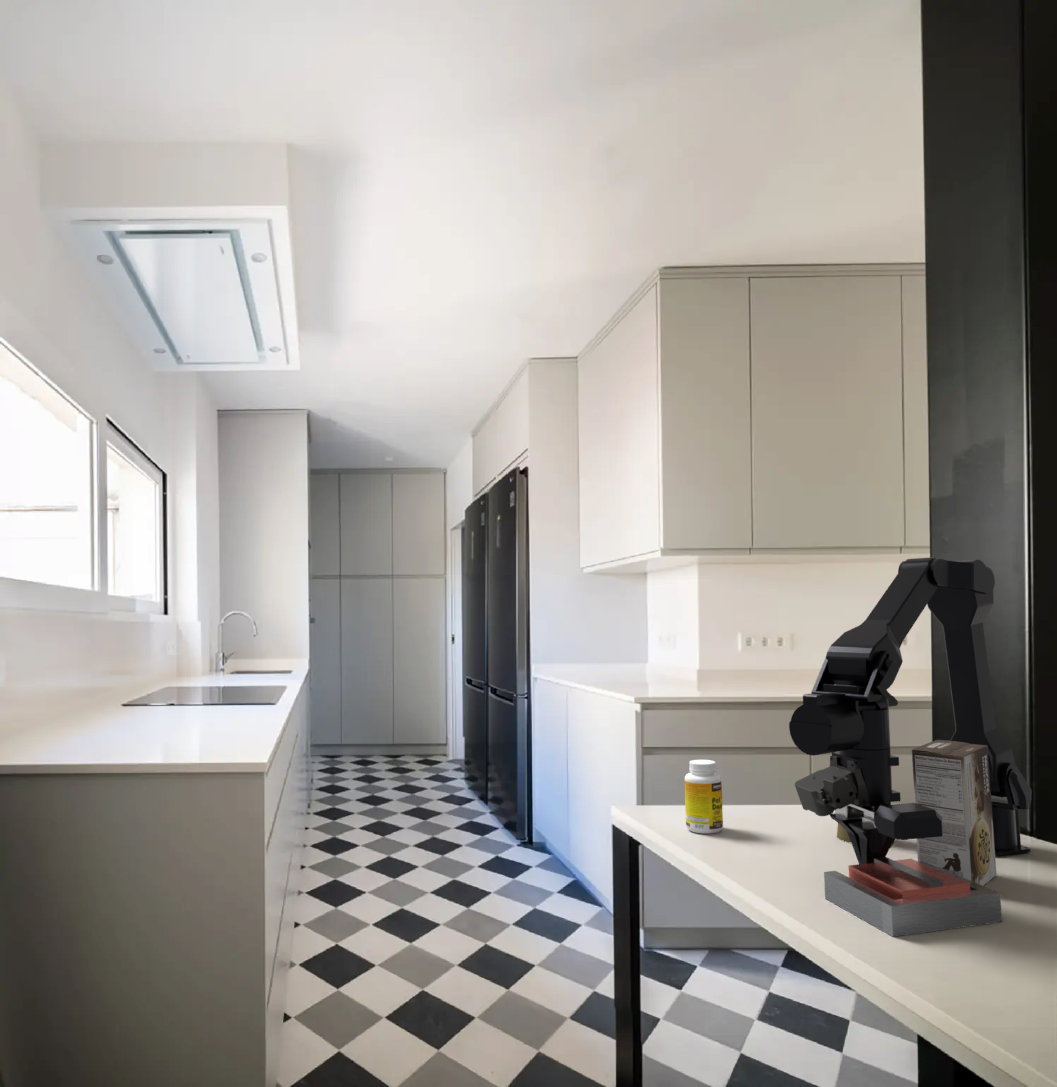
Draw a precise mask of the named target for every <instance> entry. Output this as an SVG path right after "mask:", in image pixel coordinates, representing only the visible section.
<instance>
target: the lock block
mask: <svg viewBox="0 0 1057 1087" xmlns="http://www.w3.org/2000/svg"><path fill="white" fill-rule="evenodd" d="M848 877H849V878H851V879H853V880H855V881H857V882H859V883H861V884H863V885H865V886H867V887H869V888H871V889H873V890H875V891H877V892H879V893H881V894H883V895H885V896H887V897H889V898H891V899H893V900H897V899H905V898H913V897H921V896H929V895H938V894H946V893H954V892H962V891H970V883H969V882H966V881H964V880H961V879H959V878H957V877H954V876H952V875H949V874H947V873H944V872H942V871H940V870H937V869H935V868H932V867H930V866H928V865H925V864H923V863H920V862H918V860H915V859H912V858H908V859H907V858H906V859H896V860H895V859H892V858H889V857H887V856H886V857H882V858H874V863H867V864H859V863H858V864H849V865H848Z"/></svg>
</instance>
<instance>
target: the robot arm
mask: <svg viewBox="0 0 1057 1087" xmlns="http://www.w3.org/2000/svg"><path fill="white" fill-rule="evenodd" d="M995 583H996V580H995V574H994V572H993V571H992V569H991V568H990V567H988V566H986V564H985V563H984V562H983V560H981V559H966V560H965V559H964V560H946V559H943V558H939V557H937V556H936V557H935V556H934V557H933V556H931V557H917V558H915V557H914V558H907V559H905V560H904V561H902V562H900V563H899V565H898V570H897V574H896V576H895V577H894V578H893V580H892V582H891V583H890V584H889V586H888V587H887V588H886V590H885V592H884V593H883V595H882V596H881V597H880V599H879V600H878V602H877V603H876V604H875V606H874V607H873V609H872V610H871V611H870V612H869V614H868V616H867V617H866V619H865V620H864V621H863V622H862V623H861V624H859V625H857V626H855V627H853V628H851V629H849V630H847V631H845V632H843V633H842V634H840V636H839V637H838V638H837V639H835V640H834V641H833V642H832V644H831V645H830V646H829V648H828V650H827V652H826V655H825V657H824V660H823V663H822V665H821V668H820V669H819V672H818V676H817V678H816V680H815V683H814V685H813V687H812V689H811V693H804V694H803V695H802V704H801V705H800V706H798V707H796V709H794V712H793V713H792V715H791V719H790V721H789V722H788V727H789V728H788V729H789V735H790V738H791V740H792V741H793V743H794V745H795V746H796V748H797V749H798V750H800V751H801V752H802V753H804V754H806V755H809V756H819V755H825V754H826V755H827V754H831V755H830V757H829V766H828V767H825V768H823V769H820V770H819V769H818V770H817V771H815V772H812V773H811V774H809V775H807V776H805V777H803V778H801V779H798V780H797V781H795V782H794V787H795V790H796V793H797V796H798V798H799V801H800V805H801V807H802V809H803V810H805V811H810V812H812V813H814V814H815V815H816V816H819V817H827V816H829V817H830V818H831V819H832V820H834V821H835V822H836V823H837V824H838V823H839V824H840V825H841V826H842V827H843V828H844V829H845V830H846V831H847V833H848V836H849V838H850V841H851V843H850V844H851V846H852V848H853V851H854V854H855V856H856V859H857V863H858V864H867V863H874V858H882V857H887V855H888V852H889V851H890V849H891V847H892V845H893V844H894V842H895V840H898V841H905V840H907V841H908V840H917V839H919V838H930V837H941V836H943V825H942V817H941V816H940V815H939V814H938V813H937V812H936V811H935V810H934V809H931V808H928V807H925V806H922V805H919V804H916V803H915V802H905V803H894V802H901V792H900V791H897V790H894V789H893V782H892V781H893V780H892V778H893V776H892V767H899V766H900V757H899V756H896V755H892V754H891V732H890V729H891V727H890V708H889V707H891V708H892V707H897V706H898V705H899V701H898V700H897V698H896V697H895V696H894V695H892V693H890V692H889V690H888V689H889V688H891V686H892V685H893V684H894V682H895V680H896V678H897V675H898V673H899V671H900V669H901V667H902V664H903V656H902V652H901V647H902V644H903V641H904V640H905V638H906V637H907V636H908V634H909V633H910V631H911V630H912V629H913V626H914V625H915V623H916V621H918V619H919V617H920V616H921V614H922V613H923V611H924V610H925V608H926V606H927V609H929V611H930V612H931V613H932V614H933V616H934V617H935V618H936V620H938V622H939V623H940V625H941V626H942V629H943V637H944V646H945V654H946V662H947V669H948V676H949V686H950V694H951V702H952V709H953V710H952V711H953V718H954V726H955V731H954V732H953V734H952V736H951V738H950V740H949V741H958V742H964V743H970V744H977V745H987V746H988V747H987V749H988V762H989V775H990V789H991V803H992V819H993V832H994V847H995V857H996V856H997V857H999V856H1006V855H1015V854H1022V853H1023V854H1024V853H1031V852H1032V849H1031V847H1028V846H1026V845H1022V841H1021V827H1020V813H1019V812H1020V810H1029V809H1030V806H1031V804H1032V803H1031V802H1032V800H1033V799H1032V794H1033V791H1032V787H1031V786H1030V785H1029V784H1028V782H1027V781H1026V779H1025V777H1024V775H1023V774H1022V773H1021V771H1020V769H1019V768H1018V766H1017V765H1016V761H1015V755H1014V753H1013V747H1012V746H1011V745H1010V744H1009V743H1008V741H1007V740H1006V739H1005V737H1004V736H1003V735H1002V734H1001V732H1000V730H999V729H997V726H996V719H995V718H996V717H995V710H994V702H993V695H992V694H993V693H992V688H991V687H992V686H991V679H990V672H989V663H988V654H987V646H986V639H985V631H984V621H985V619H986V617H987V616H988V614H989V612H990V611H991V608H993V605H994V589H995V585H996V584H995ZM892 803H893V804H892ZM872 806H873V807H874V808H872Z"/></svg>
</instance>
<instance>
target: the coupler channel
mask: <svg viewBox="0 0 1057 1087" xmlns="http://www.w3.org/2000/svg"><path fill="white" fill-rule="evenodd" d="M917 861H918V860H917ZM918 862H920V863H923V864H925V865H928V866H930V867H932V868H935V869H937V870H940V871H942V872H944V873H947V874H949V875H952V876H954V877H957V878H959V879H961V880H964V881H966V882H969V883H970V891H962V892H954V893H946V894H938V895H929V896H921V897H913V898H905V899H897V900H893V899H891V898H889V897H887V896H885V895H883V894H881V893H879V892H877V891H875V890H873V889H871V888H869V887H867V886H865V885H863V884H861V883H859V882H857V881H855V880H853V879H851V878H849V876H847V875H845V874H842V873H841V872H839V871H837V870H830V871H829V870H827V871H823V878H824V879H823V880H824V899H825V900H827V901H829V902H830V903H832V904H834V905H835V906H838V907H839V906H840V908H842V910H845V911H846V912H848V913H850V914H852V915H854V916H855V917H857V918H859V919H861V920H863V921H864V922H866V923H868V924H870V925H871V926H873V927H875V928H877V929H879V930H880V931H882V932H884V933H885V934H887V935H888V936H891V937H893V938H894V937H902V936H909V935H915V934H923V933H924V934H925V933H930V932H938V931H945V930H946V929H947V930H951V929H950V928H954V929H960V928H966V927H965V926H968V927H971V926H970V925H976V926H980V925H981V924H983V925H987V924H986V923H990V924H995V923H994V922H998V923H1002V922H1003V917H1002V902H1001V892H1000V891H997V890H995V889H994V890H993V889H992V888H990V887H987V886H985V885H984V886H982V885H980V884H978V883H975V882H973V881H970V880H968V879H965V878H963V877H960V876H958V875H956V874H953V873H951V872H948V871H946V870H943V869H941V868H939V867H936V866H934V865H931V864H929V863H926V862H924V861H918ZM1001 921H1002V922H1001ZM963 926H964V927H963ZM981 926H982V925H981ZM959 927H960V928H959Z"/></svg>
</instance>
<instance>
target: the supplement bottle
mask: <svg viewBox="0 0 1057 1087" xmlns="http://www.w3.org/2000/svg"><path fill="white" fill-rule="evenodd" d="M716 763H717V762H716V761H714V760H712V759H711V760H710V759H692V760H689V768H688V769H689V772H688V773H686V775H685V776H684V800H685V801H684V802H685V803H684V804H685V805H684V806H685V827H686V829H687V830H689V831H690V832H693V833H697V834H706V835H707V834H709V835H710V834H717V833H719V832H722V830H723V828H724V820H723V819H724V818H723V815H724V813H723V787H722V784H723V783H722V782H723V781H722V776H721V775H719V774H718V773H716V772H717V771H716V770H717V764H716Z"/></svg>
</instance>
